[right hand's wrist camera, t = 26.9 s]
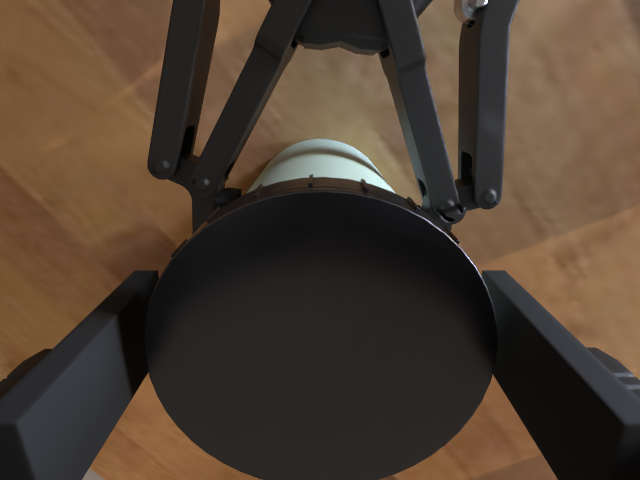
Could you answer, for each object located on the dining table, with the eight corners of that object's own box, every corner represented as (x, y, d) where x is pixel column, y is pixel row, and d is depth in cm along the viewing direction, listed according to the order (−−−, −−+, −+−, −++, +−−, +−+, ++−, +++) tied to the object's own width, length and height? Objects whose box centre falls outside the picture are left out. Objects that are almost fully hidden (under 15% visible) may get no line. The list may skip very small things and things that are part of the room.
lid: (540, 331, 12) (571, 365, 11) (316, 487, 15) (315, 532, 13) (327, 94, 10) (328, 94, 8) (100, 326, 12) (68, 359, 11)
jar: (356, 282, 28) (393, 477, 14) (238, 242, 27) (147, 408, 13) (408, 167, 25) (522, 262, 11) (278, 117, 24) (219, 151, 10)
